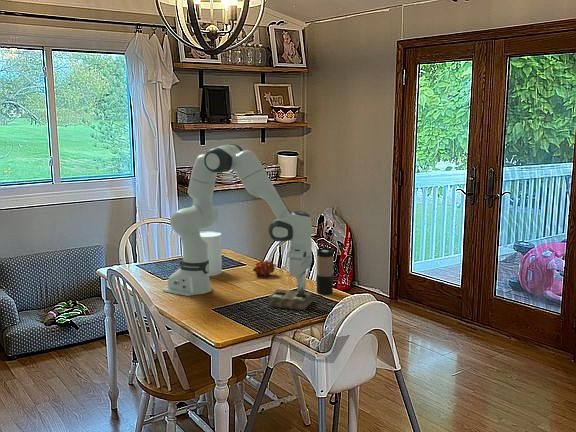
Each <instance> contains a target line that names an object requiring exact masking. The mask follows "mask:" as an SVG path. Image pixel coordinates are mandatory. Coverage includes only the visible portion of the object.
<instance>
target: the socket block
mask: <svg viewBox="0 0 576 432" xmlns="http://www.w3.org/2000/svg"><path fill="white" fill-rule="evenodd" d="M267 298H268V299H267V300H268V301H267V303H268V304H267V305H268V306H267V307H271V308H280V309H281V308H282V309H289V310H290V309H291V310H303V311H305V310H307V308H308V307H309V306H310V304H311V303H312V302H313V292H312V291H311V292H310V291H305V294H298V293H297V290H288V289H278V288H276V290H274V292H273V293H271V294H270V295H269V296H268V297H267Z"/></svg>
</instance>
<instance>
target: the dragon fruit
mask: <svg viewBox="0 0 576 432" xmlns="http://www.w3.org/2000/svg"><path fill="white" fill-rule="evenodd" d="M275 267H276V266H275V264H274V263H273V261H268V260H267V259H265V260H260V261H259V262H257V263H256V264H255V266H254V268H253V269H252V272H254V275H256V276H258V277H262V276H263V277H268V276H270V274H273V273H274V272H275V269H276V268H275Z"/></svg>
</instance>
